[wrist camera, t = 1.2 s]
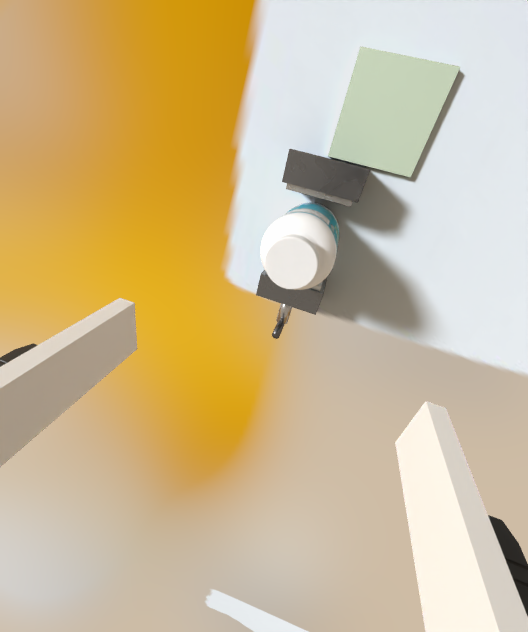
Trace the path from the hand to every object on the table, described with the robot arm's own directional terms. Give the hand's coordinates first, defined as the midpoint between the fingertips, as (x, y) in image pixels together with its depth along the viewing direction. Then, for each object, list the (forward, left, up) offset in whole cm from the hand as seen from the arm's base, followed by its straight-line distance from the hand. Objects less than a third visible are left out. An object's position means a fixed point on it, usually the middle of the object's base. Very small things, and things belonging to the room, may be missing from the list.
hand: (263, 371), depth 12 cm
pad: (-13, +3, -27) cm, 30 cm away
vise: (+2, -1, -28) cm, 28 cm away
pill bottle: (0, -1, -27) cm, 27 cm away
